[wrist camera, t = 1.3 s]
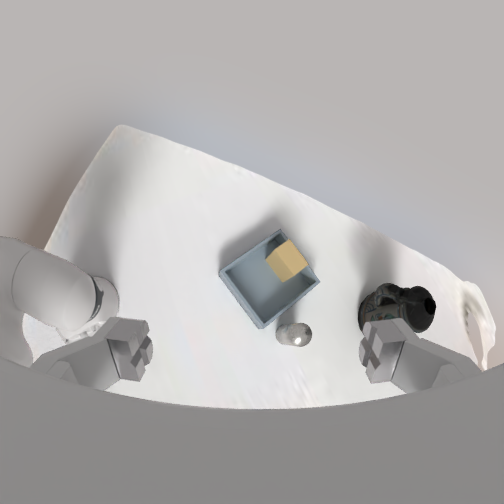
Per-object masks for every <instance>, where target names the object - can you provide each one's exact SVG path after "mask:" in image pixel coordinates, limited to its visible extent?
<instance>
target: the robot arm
mask: <svg viewBox="0 0 504 504" xmlns="http://www.w3.org/2000/svg"><path fill="white" fill-rule="evenodd" d="M118 308H119V298H118V294H117V292H116V290H115V288H114V286H113V285H112V284H111V283H110V282H109V281H108V280H106V279H104V278H101V277H92V276H90V275H88V274H86V273H85V272H84V271H82V270H81V269H79V268H78V267H76V266H75V265H73V264H72V263H70V262H69V261H67V260H65V259H62V258H60V257H58V256H55V255H53V254H51V253H48V252H46V251H44V250H42V249H38V248H36V247H33V246H31V245H29V244H27V243H25V242H23V241H21V240H19V239H16V238H10V237H1V236H0V504H504V363H503V364H501V365H498V366H496V367H493V368H491V369H488V370H485V371H483V372H482V371H481V370H480V369H479V368H478V367H477V365H476V364H475V363H474V362H473V361H472V360H471V359H470V358H469V357H467V356H464V355H462V354H459V353H457V352H455V351H452V350H450V349H447V348H445V347H442V346H440V345H438V344H435V343H433V342H430V341H428V340H426V339H423V338H421V339H419V337H418V336H417V335H416V334H415V333H414V332H413V330H412V329H411V328H410V327H409V326H408V324H407V323H406V322H405V321H404V320H403V319H401V318H396V319H389V320H381V321H371V322H366V323H365V325H364V328H363V334H364V335H365V337H364V338H363V339H362V341H361V342H360V347H359V358H360V361H361V364H362V365H363V366H365V367H366V368H367V369H366V374H367V376H368V379H369V381H370V383H371V384H372V383H380V382H387V381H391V382H392V383H393V384H395V385H396V386H397V387H399V388H400V389H401V390H403V391H404V392H405V393H407V394H404V395H399V396H394V397H389V398H384V399H378V400H372V401H366V402H359V403H352V404H344V405H335V406H325V407H312V408H296V409H228V408H211V407H199V406H189V405H180V404H172V403H164V402H158V401H151V400H145V399H140V398H134V397H129V396H124V395H119V394H115V393H110V392H106V391H104V390H106V389H107V388H109V387H110V386H112V385H113V384H114V383H116V382H117V381H119V380H120V379H125V380H132V381H139V382H140V380H141V378H142V376H143V375H144V373H145V371H146V370H145V365H147V364H149V363H150V361H151V359H152V354H153V345H152V340H151V339H150V338H149V337H148V336H147V334H148V332H149V327H148V323H147V322H146V321H145V320H137V319H128V318H121V317H116V315H117V313H118ZM24 313H26V314H28V315H30V316H31V317H33V318H35V319H37V320H38V321H40V322H42V323H44V324H46V325H48V326H51V327H55V328H56V330H57V332H58V334H59V335H60V337H61V338H62V340H63V341H64V342H65V343H66V344H67V345H65V346H62V347H60V348H57V349H55V350H52V351H49V352H47V353H44V354H42V355H41V356H40V357H39V358H38V359H37V360H36V361H35V362H34V363H33V354H32V351H31V348H30V346H29V344H28V343H27V341H26V339H25V338H24V335H23V329H22V322H23V316H24ZM67 339H68V342H67Z"/></svg>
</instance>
